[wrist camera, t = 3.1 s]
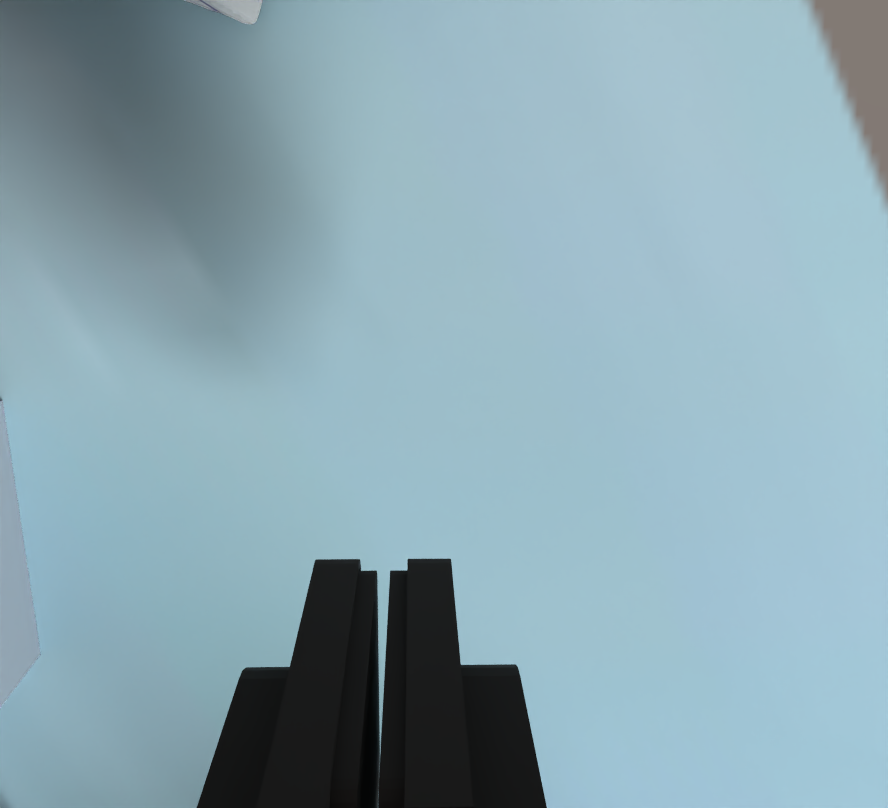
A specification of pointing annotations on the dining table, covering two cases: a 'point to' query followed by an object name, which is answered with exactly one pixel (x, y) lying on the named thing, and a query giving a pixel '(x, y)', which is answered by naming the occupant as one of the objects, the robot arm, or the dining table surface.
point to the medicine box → (233, 8)
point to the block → (13, 582)
